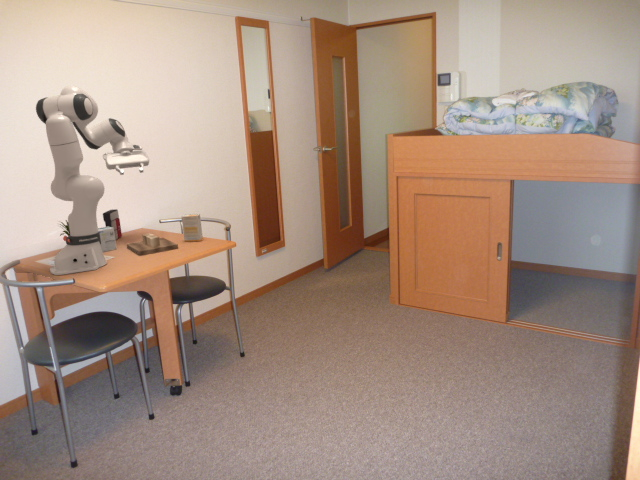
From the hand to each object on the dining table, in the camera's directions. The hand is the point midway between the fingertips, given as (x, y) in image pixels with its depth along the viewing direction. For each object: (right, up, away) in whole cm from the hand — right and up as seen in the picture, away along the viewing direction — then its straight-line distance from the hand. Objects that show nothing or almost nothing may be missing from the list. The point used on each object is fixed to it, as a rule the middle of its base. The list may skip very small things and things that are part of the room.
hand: (132, 172), depth 261 cm
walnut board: (+10, -36, -2) cm, 38 cm away
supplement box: (+27, -33, +10) cm, 44 cm away
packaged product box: (-17, -32, +22) cm, 42 cm away
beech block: (+6, -31, +2) cm, 32 cm away
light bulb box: (-13, -38, -1) cm, 40 cm away
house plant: (-29, -38, +1) cm, 48 cm away
